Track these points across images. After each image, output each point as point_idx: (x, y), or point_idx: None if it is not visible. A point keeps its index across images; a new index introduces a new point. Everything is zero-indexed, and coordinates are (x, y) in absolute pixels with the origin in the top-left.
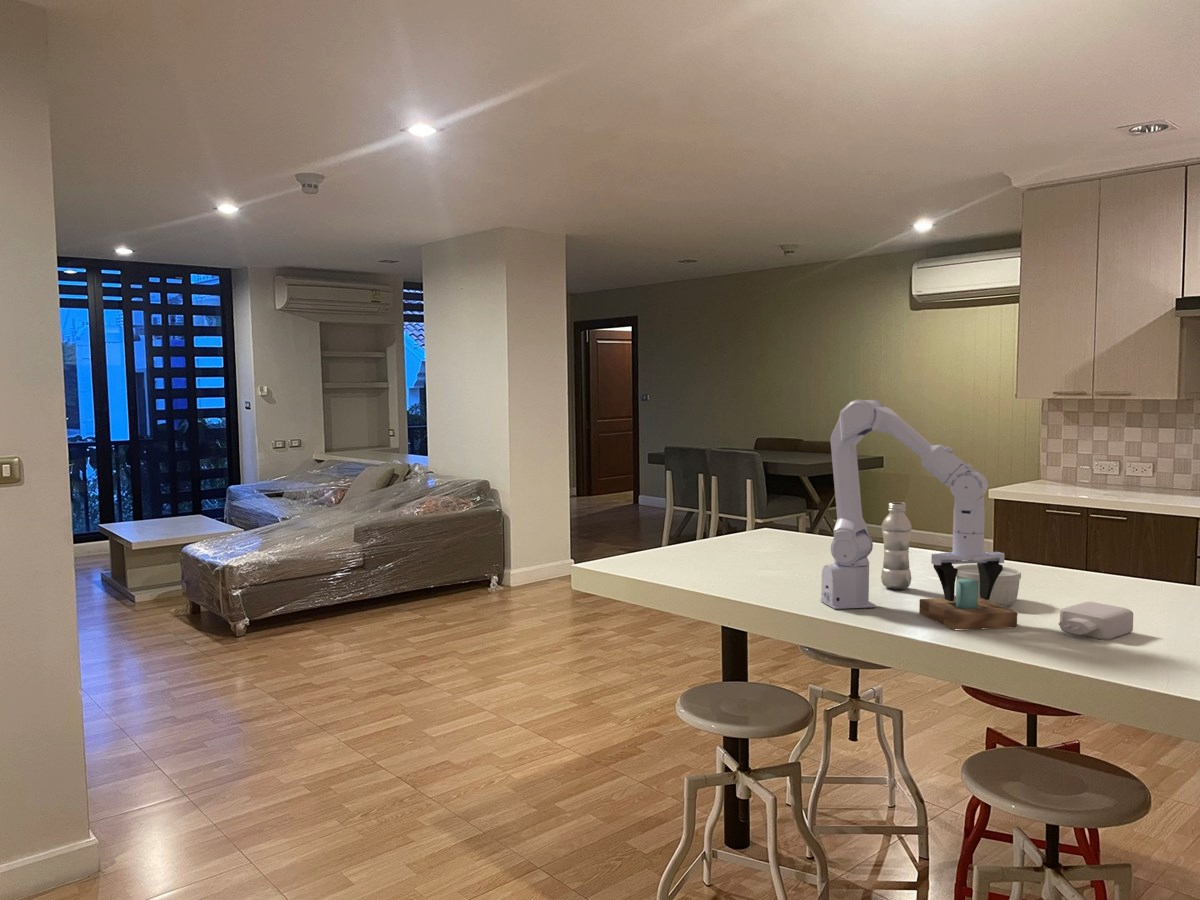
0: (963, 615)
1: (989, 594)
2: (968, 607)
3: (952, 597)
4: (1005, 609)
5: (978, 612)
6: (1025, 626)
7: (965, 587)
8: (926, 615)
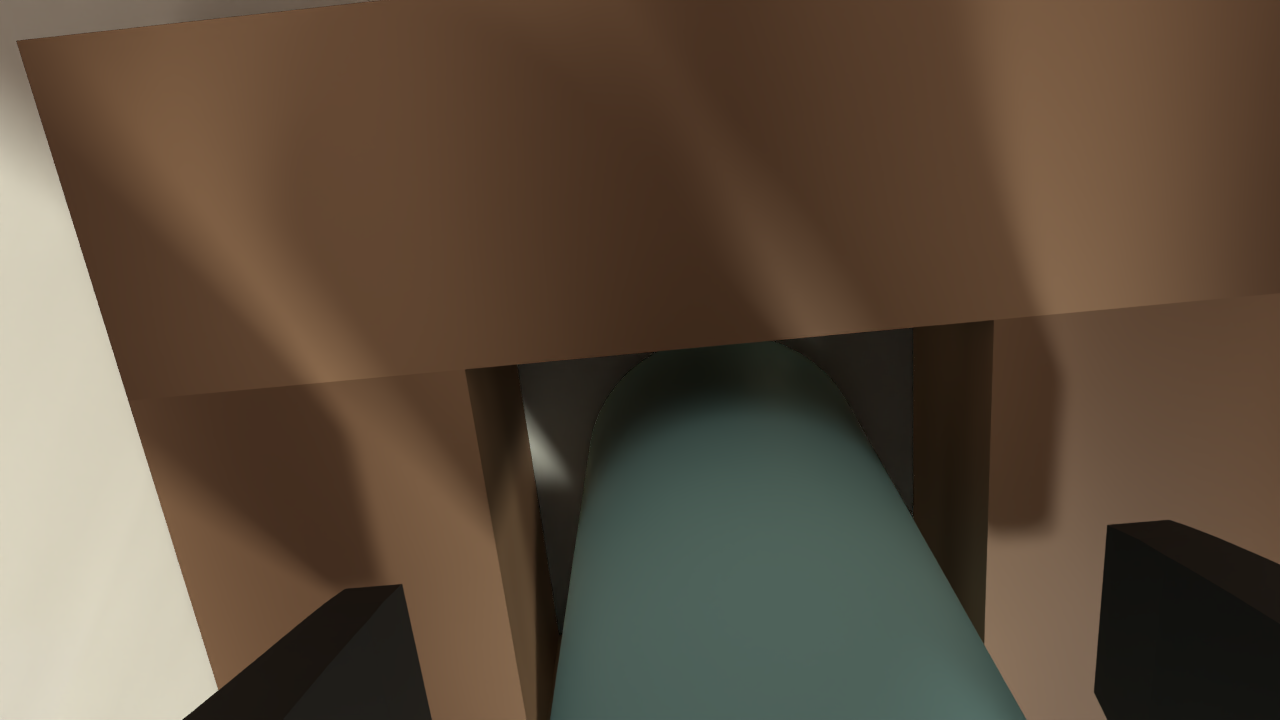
0: None
1: (308, 632)
2: (801, 429)
3: (1192, 547)
4: (178, 266)
5: (812, 58)
6: (22, 109)
7: (978, 698)
8: None
